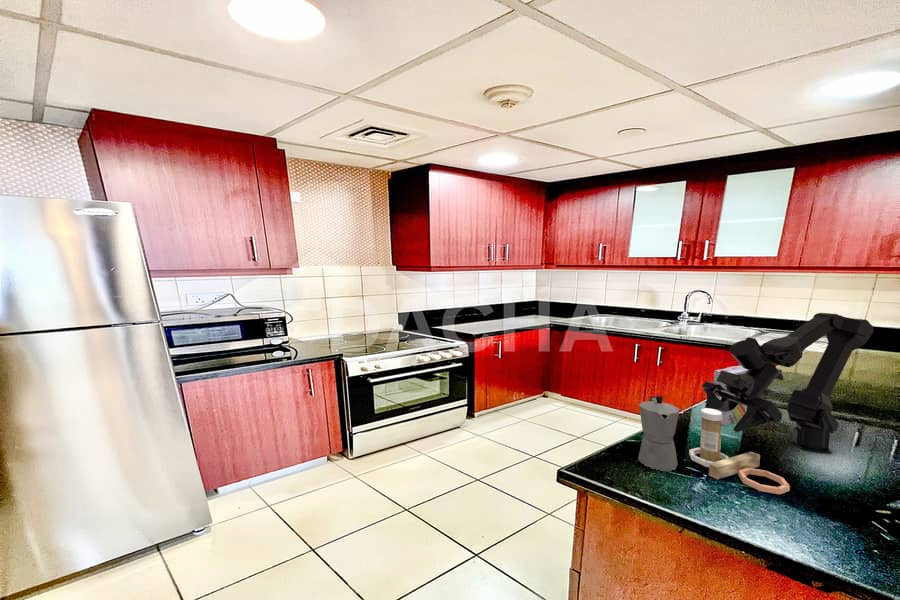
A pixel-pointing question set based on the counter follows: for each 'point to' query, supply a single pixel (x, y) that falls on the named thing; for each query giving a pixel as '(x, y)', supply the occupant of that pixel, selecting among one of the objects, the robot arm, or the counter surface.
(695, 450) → the collar
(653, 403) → the coffeepot
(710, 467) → the door edge rail
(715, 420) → the sprinkles bottle
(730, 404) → the cake pan box
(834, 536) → the counter surface
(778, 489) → the keeper collar
